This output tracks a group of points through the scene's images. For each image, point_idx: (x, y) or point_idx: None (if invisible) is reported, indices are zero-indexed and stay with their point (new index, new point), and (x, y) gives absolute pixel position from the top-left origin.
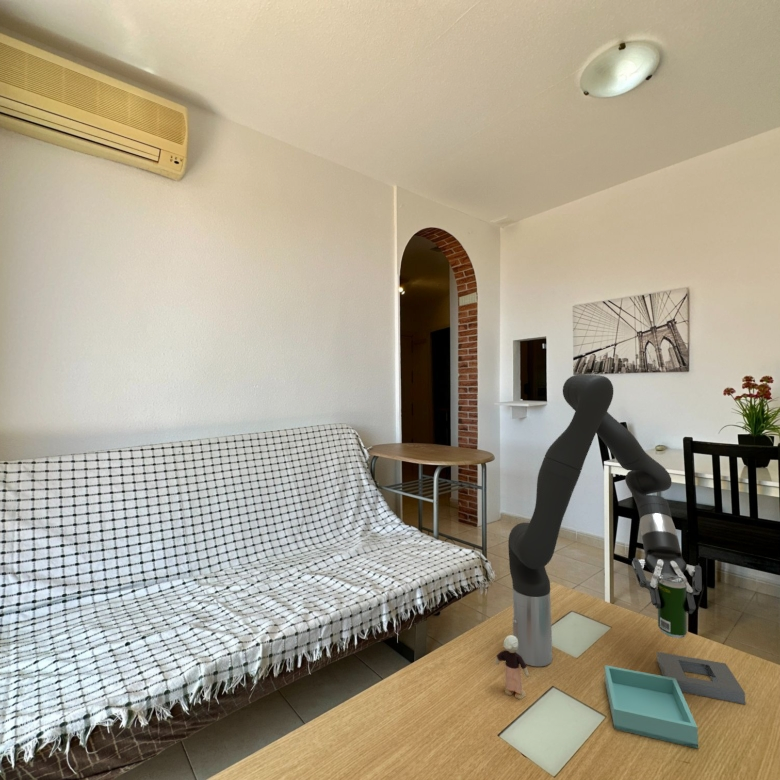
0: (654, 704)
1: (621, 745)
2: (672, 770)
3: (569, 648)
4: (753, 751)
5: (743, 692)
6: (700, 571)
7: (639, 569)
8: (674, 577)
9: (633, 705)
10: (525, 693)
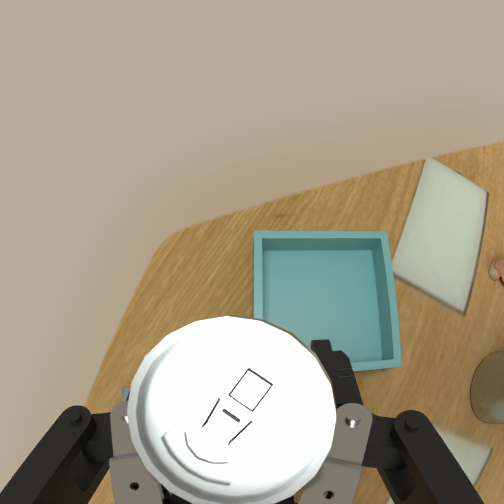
0: (306, 322)
1: (365, 217)
2: (302, 196)
3: None
4: (170, 269)
5: (124, 387)
6: (3, 497)
7: (451, 487)
8: (195, 459)
9: (345, 305)
10: (490, 273)
